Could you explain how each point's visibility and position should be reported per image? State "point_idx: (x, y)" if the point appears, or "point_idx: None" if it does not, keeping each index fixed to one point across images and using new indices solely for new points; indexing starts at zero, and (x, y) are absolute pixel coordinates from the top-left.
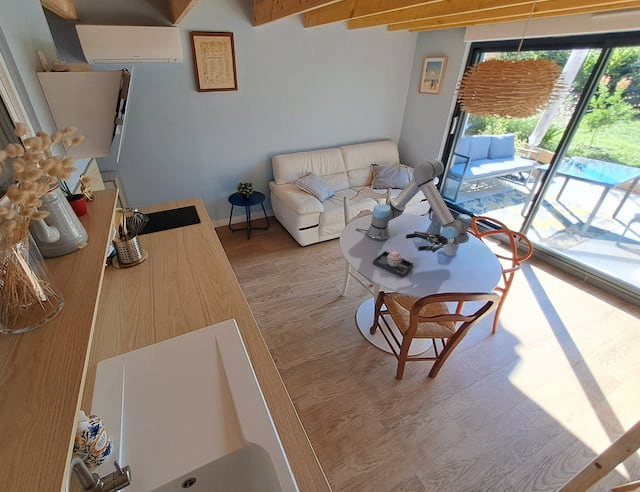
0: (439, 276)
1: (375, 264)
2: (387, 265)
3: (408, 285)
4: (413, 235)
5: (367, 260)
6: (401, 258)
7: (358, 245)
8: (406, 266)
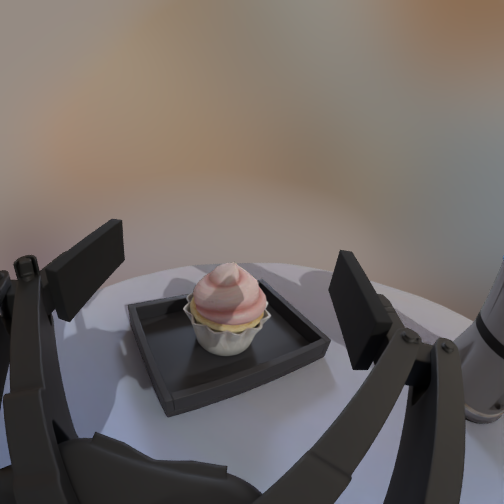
0: None
1: None
2: None
3: (88, 309)
4: (357, 308)
5: (282, 290)
6: (212, 331)
7: None
8: (179, 378)
